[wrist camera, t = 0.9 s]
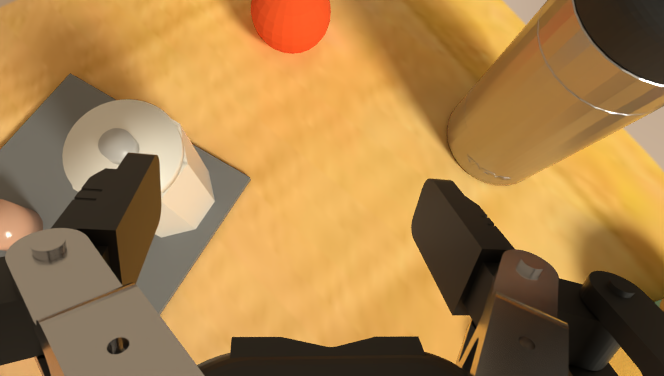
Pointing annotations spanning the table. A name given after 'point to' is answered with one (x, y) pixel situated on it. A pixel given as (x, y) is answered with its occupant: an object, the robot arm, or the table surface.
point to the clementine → (291, 23)
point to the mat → (57, 192)
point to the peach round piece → (16, 223)
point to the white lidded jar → (146, 138)
